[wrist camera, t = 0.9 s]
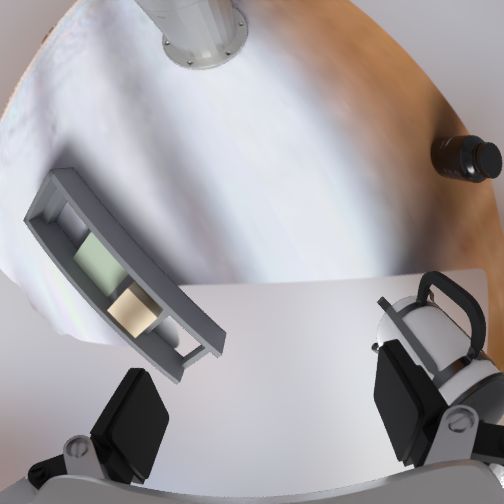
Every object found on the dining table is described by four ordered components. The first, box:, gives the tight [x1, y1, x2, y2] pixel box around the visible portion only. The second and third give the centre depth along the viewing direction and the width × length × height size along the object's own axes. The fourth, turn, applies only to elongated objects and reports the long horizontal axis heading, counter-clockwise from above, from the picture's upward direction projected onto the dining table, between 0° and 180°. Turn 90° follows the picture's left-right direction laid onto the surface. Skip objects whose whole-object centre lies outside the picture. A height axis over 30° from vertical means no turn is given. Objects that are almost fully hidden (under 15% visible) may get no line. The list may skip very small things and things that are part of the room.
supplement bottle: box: [431, 135, 502, 183], centre depth 29 cm, size 7×7×12 cm
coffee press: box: [372, 271, 504, 424], centre depth 29 cm, size 17×16×30 cm
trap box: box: [23, 168, 226, 384], centre depth 40 cm, size 38×11×6 cm, turn 42°
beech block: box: [107, 281, 163, 338], centre depth 39 cm, size 6×6×4 cm
